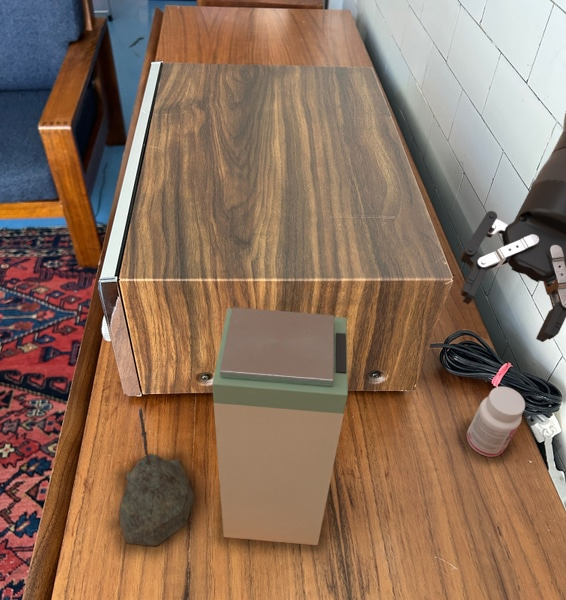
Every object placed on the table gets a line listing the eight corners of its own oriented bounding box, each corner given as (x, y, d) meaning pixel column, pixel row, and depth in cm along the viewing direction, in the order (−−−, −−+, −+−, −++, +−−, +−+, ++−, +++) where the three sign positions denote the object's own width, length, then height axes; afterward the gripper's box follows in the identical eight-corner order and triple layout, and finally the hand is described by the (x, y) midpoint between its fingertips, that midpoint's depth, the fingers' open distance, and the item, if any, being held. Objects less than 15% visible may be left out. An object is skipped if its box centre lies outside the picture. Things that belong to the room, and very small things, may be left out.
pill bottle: (504, 463, 67) (528, 423, 62) (464, 451, 68) (484, 410, 63) (506, 430, 71) (529, 390, 65) (467, 419, 72) (487, 378, 66)
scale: (343, 336, 49) (347, 310, 46) (344, 414, 43) (349, 388, 41) (228, 327, 49) (227, 301, 47) (213, 403, 43) (211, 377, 41)
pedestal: (319, 476, 65) (343, 336, 49) (317, 545, 59) (344, 414, 43) (233, 468, 65) (228, 327, 49) (223, 537, 60) (213, 403, 43)
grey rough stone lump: (196, 541, 59) (187, 485, 51) (119, 552, 58) (97, 496, 50) (192, 457, 66) (184, 395, 58) (123, 464, 65) (105, 403, 57)
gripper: (515, 155, 61) (450, 277, 58) (644, 211, 59) (584, 344, 55) (495, 188, 69) (436, 299, 65) (609, 240, 66) (554, 359, 62)
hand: (504, 320), depth 60 cm, fingers open, 8 cm apart
